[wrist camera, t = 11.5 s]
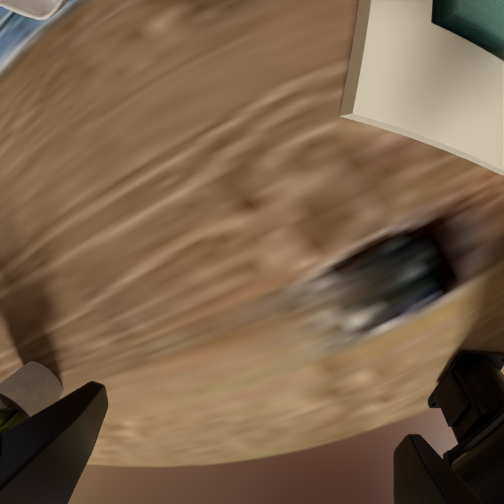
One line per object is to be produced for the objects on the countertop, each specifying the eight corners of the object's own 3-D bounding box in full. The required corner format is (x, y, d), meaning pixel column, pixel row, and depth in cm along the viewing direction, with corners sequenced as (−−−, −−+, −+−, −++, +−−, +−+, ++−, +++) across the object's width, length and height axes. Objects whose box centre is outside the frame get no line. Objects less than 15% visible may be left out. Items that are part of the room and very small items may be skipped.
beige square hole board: (511, -31, 10) (534, -43, 6) (499, 174, 16) (530, 184, 13) (369, -99, 10) (380, -124, 7) (339, 116, 17) (352, 113, 13)
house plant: (34, 296, 23) (-88, 415, 8) (128, 409, 27) (65, 548, 12) (-15, 339, 27) (-94, 423, 12) (58, 424, 31) (4, 519, 15)
